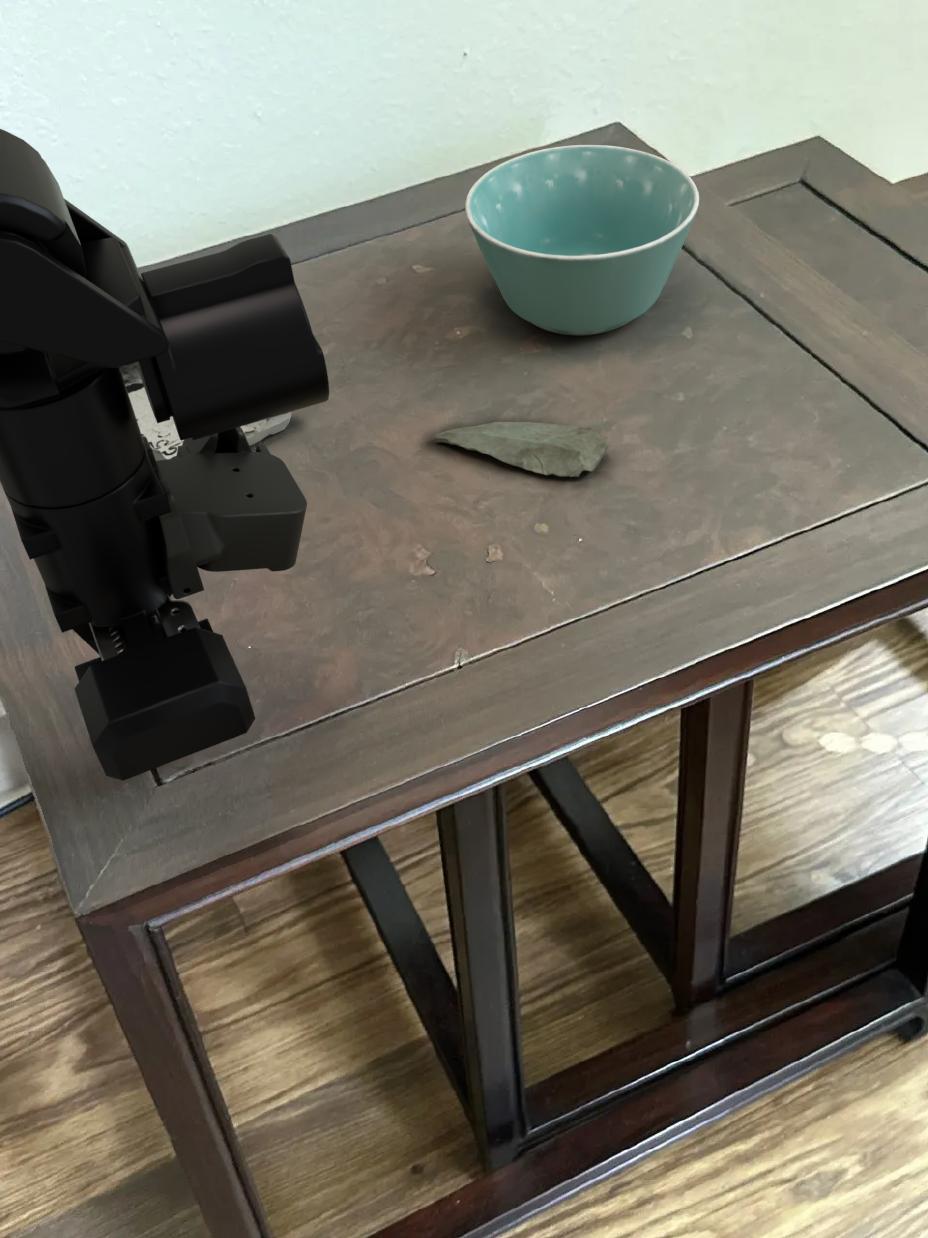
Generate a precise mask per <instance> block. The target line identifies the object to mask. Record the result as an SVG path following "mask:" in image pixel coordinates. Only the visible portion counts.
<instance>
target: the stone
mask: <svg viewBox="0 0 928 1238" xmlns="http://www.w3.org/2000/svg"><path fill="white" fill-rule="evenodd" d="M434 443H444V444H449V445H453V446H454V445H455V446H457V447H460V448H463V449H465V450H467V451H474V452H475V451H476V452H479V453H481V454H483V455H484V454H486V455H488V456H491V457H492V458H495V459H497V460H498V461H500V462H503V463H505V464H508V465H510V466H514V467H518V468H521V469H522V470H523V469H524V470H526V471H530V472H533V473H536V474H541V475H544V476H550V475H554V476H556V477H562V478H563V477H569V478H573V477H575V478H579V477H580V474H582V473H583V472H584V471H585V472H589V473H590V472H594V471H595V469H596V468H597V467H598V466H599V464H600V463H601V461H602V458H603V457H604V455H605V453H606V452H607V449H608V448H609V446H610V445H609V443H607V442H606V440H604V439H603V438H601V435H600V431H599V430H598V429H596V428H595V427H590V426H581V425H567V424H557V423H556V424H555V423H546V422H532V421H494V422H490V423H483V424H479V425H474V426H463V427H458V428H453V429H448V430H446V431H442V432H439V433H437V434H435V436H434Z"/></svg>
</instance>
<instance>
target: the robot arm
mask: <svg viewBox="0 0 928 1238" xmlns="http://www.w3.org/2000/svg"><path fill="white" fill-rule="evenodd" d="M291 261H292V260H291V258H290V256H289V255H288V253H287V251H286V249H285V248H284V247H283V245H282V243H281V241H280V240H279V238H278V237H277V236H276V235H274V234H273V233H268V234H265V235H261V236H257V237H252V238H249V239H246V240H244V241H240V242H238V243H236V244H235V245H233V246H230V247H229V248H227V249H225V250H221V251H219V252H216V253H212V254H209V255H204V256H201V257H197V258H193V259H190V260H185V261H182V262H178V263H174V264H170V265H166V266H162V267H158V268H155V269H151V270H147V271H144V272H141V273H140V271H139V269H138V266H137V264H136V262H135V259H134V256H133V255H132V253H131V250H130V246H129V245H128V243H127V242H126V241H125V240H123V239H122V238H121V237H119V236H117V235H116V234H115V233H113V232H112V231H110V230H109V229H108V228H106V227H105V226H104V225H102V224H101V223H99V222H98V221H97V220H95V219H94V218H92V217H91V216H90V215H88V214H87V213H85V212H84V211H83V210H82V209H80V208H79V207H77V206H75V204H73V203H71V202H70V201H69V200H67V199H66V198H64V195H63V192H62V190H61V187H60V184H59V182H58V181H57V178H56V177H55V176H54V173H53V172H52V171H51V168H50V167H49V166H48V164H47V162H46V161H45V160H44V158H43V157H42V156H41V153H40V152H39V151H38V150H37V149H35V148H34V147H33V146H32V145H30V143H28V142H27V140H25V139H23V138H21V137H19V136H17V135H15V134H13V133H11V132H9V131H7V130H5V129H2V128H0V485H1V488H2V490H3V492H4V494H5V497H6V499H7V501H8V503H9V506H10V509H11V512H12V515H13V518H14V522H15V525H16V528H17V532H18V533H19V538H20V541H21V543H22V545H23V548H24V550H25V553H26V554H27V557H28V559H29V560H33V561H34V562H35V565H36V567H37V570H38V572H39V575H40V577H41V579H42V581H43V583H44V587H45V590H46V594H47V596H48V600H49V603H50V606H51V609H52V612H53V616H54V618H55V620H56V622H57V624H58V625H57V626H58V627H59V629H60V631H61V633H62V634H63V633H66V632H69V631H71V630H72V631H73V632H74V633H75V634H76V635H77V636H78V637H79V638H81V640H82V641H84V642H85V643H86V644H87V645H88V646H89V647H90V648H91V649H93V651H94V652H96V654H97V655H99V657H96V658H93V659H90V660H87V661H85V662H83V663H79V664H77V665H75V666H74V671H75V674H76V678H77V680H78V683H77V684H76V686H75V687H74V692H75V696H76V698H77V703H78V705H79V709H80V712H81V715H82V717H83V721H84V724H85V726H86V730H87V733H88V736H89V740H90V743H91V747H92V748H93V750H94V754H95V755H96V758H97V760H98V761H99V764H100V766H101V768H102V770H103V772H104V775H105V777H108V778H110V779H115V780H119V781H122V782H124V781H127V780H129V779H132V778H135V777H137V776H140V775H142V774H145V773H148V772H150V771H152V770H155V769H158V768H160V767H163V766H165V765H168V764H170V763H173V762H175V761H178V760H181V759H183V758H186V757H188V756H190V755H191V756H192V755H194V754H196V753H199V752H202V751H203V750H207V749H209V748H212V747H215V746H217V745H220V744H222V743H225V742H227V741H229V740H232V739H235V738H238V737H240V736H243V735H246V734H247V733H248V732H249V730H250V728H251V727H252V725H253V724H254V722H255V721H256V715H255V713H254V709H253V705H252V702H251V699H250V695H249V692H248V690H247V687H246V684H245V682H244V681H243V680H244V679H243V678H242V675H241V674H240V671H239V669H238V666H237V665H236V663H235V660H234V658H233V655H232V653H231V651H230V648H229V647H228V644H227V643H226V640H225V638H224V636H223V634H220V633H218V632H214V630H213V627H212V625H211V623H210V620H209V619H208V618H204V619H201V620H198V619H197V617H196V614H195V612H194V609H193V607H192V605H191V604H190V602H188V601H187V600H182V599H184V598H186V597H189V596H192V595H195V594H198V593H201V592H203V591H205V587H204V584H203V581H202V578H201V575H200V572H199V569H200V570H202V571H205V572H212V573H219V572H220V573H223V572H234V571H235V572H236V571H250V570H263V569H267V570H269V572H274V573H275V572H283V571H288V570H290V569H292V568H294V566H295V565H296V563H297V559H298V554H299V553H298V552H299V548H300V544H301V538H302V533H303V527H304V521H305V516H306V513H307V507H308V501H307V499H306V497H305V495H304V494H303V491H302V490H301V488H300V487H299V485H298V483H297V481H296V480H295V478H294V477H293V475H292V473H291V471H290V470H289V468H288V466H287V465H286V463H285V462H284V461H283V460H282V459H281V458H280V457H278V456H277V455H274V454H272V453H271V452H270V450H269V448H268V447H267V445H266V443H256V446H255V451H252V448H251V446H249V444H248V441H247V439H246V437H245V434H244V432H243V430H242V429H241V426H244V425H247V424H251V423H254V422H258V421H261V420H264V419H268V418H271V417H275V416H278V415H281V414H285V413H288V412H291V413H292V412H294V411H298V410H302V409H304V408H308V407H312V406H315V405H318V404H322V403H325V402H328V400H329V396H330V382H329V376H328V369H327V364H326V360H325V355H324V351H323V349H322V347H321V345H320V343H319V342H318V340H317V338H316V336H315V335H314V333H313V329H312V327H311V323H310V320H309V317H308V313H307V311H306V308H305V304H304V302H303V299H302V297H301V294H300V291H299V288H298V287H297V284H296V282H295V281H296V280H295V277H294V272H293V266H292V262H291ZM135 362H136V364H137V367H138V370H139V373H140V376H141V379H142V382H143V385H144V388H145V391H146V394H147V397H148V400H149V402H150V405H151V408H152V411H153V414H154V416H155V419H156V421H157V423H161V422H164V421H168V420H170V417H173V420H174V423H175V426H176V429H177V432H178V435H179V438H180V440H184V441H183V444H182V446H178V450H177V455H176V456H174V457H172V458H171V459H165V460H157V461H156V460H155V457H154V454H153V451H152V448H151V446H150V444H149V442H148V440H147V438H146V436H144V437H142V435H141V432H140V429H139V425H138V422H137V419H136V416H135V413H134V410H133V407H132V404H131V401H130V398H129V395H128V392H127V389H126V385H125V382H124V379H123V376H122V373H121V370H120V366H124V365H128V364H131V363H135ZM171 597H173V598H174V599H172V598H171Z"/></svg>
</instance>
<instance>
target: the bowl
mask: <svg viewBox="0 0 928 1238" xmlns="http://www.w3.org/2000/svg"><path fill="white" fill-rule="evenodd" d="M699 205H700V194H699V189H698V187H697V185H696V183H695V182H694V179H692V178H691V177H690V175H689V174H688V173H687V172H686V171H685V170H683V169H682V168H681V167H679V166H678V165H676V164H674V162H671V161H669V160H667V159H665V158H663V157H660V156H657V155H655V154H653V153H649V152H646V151H643V150H638V149H634V148H628V147H623V146H616V145H604V144H603V145H602V144H575V145H573V144H572V145H563V146H556V147H554V146H553V147H548V148H543V149H539V150H535V151H531V152H527V153H524V154H520V155H518V156H515V157H512V158H511V159H510V158H509V159H508V160H506V161H505V162H502V163H500V164H497V165H496V166H494V167H493V168H491V169H490V170H488V171H487V172H486V173H484V174H483V175H482V176H481V177H480V178H478V180H476V182H475V183H474V184H473V185H472V186H471V188H470V189H469V192H468V193H467V195H466V198H465V203H464V211H465V216H466V219H467V221H468V224H469V226H470V229H471V231H472V234H473V236H474V238H475V240H476V243H477V246H478V248H479V250H480V252H481V254H482V257H483V259H484V261H485V264H486V265H487V267H488V269H489V272H490V273H491V275H492V277H493V280H494V281H495V284H496V285H497V287H498V289H499V292H500V294H501V297H502V298H503V300H504V302H505V303H506V305H507V306H508V307H509V309H511V311H512V312H514V313H515V314H516V315H517V316H518V317H520V318H521V319H523V320H525V321H527V322H529V323H531V324H532V325H534V326H536V327H537V328H540V329H542V330H544V331H547V332H551V333H555V334H559V335H566V336H592V335H599V334H603V333H608V332H611V331H614V330H616V329H619V328H621V327H624V326H625V325H627V324H628V323H630V322H631V321H633V320H635V319H637V318H639V317H640V316H642V315H644V314H645V313H646V312H647V311H648V310H650V309H651V308H652V306H653V305H654V304H655V303H656V302H657V301H658V299H659V297H660V295H661V293H662V291H663V290H664V287H665V285H666V283H667V281H668V278H669V276H670V274H671V272H672V270H673V267H674V266H675V264H676V261H677V259H678V258H679V255H680V252H681V250H682V248H683V246H684V243H685V241H686V239H687V237H688V234H689V232H690V230H691V227H692V225H693V223H694V220H695V218H696V215H697V212H698V209H699Z"/></svg>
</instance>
